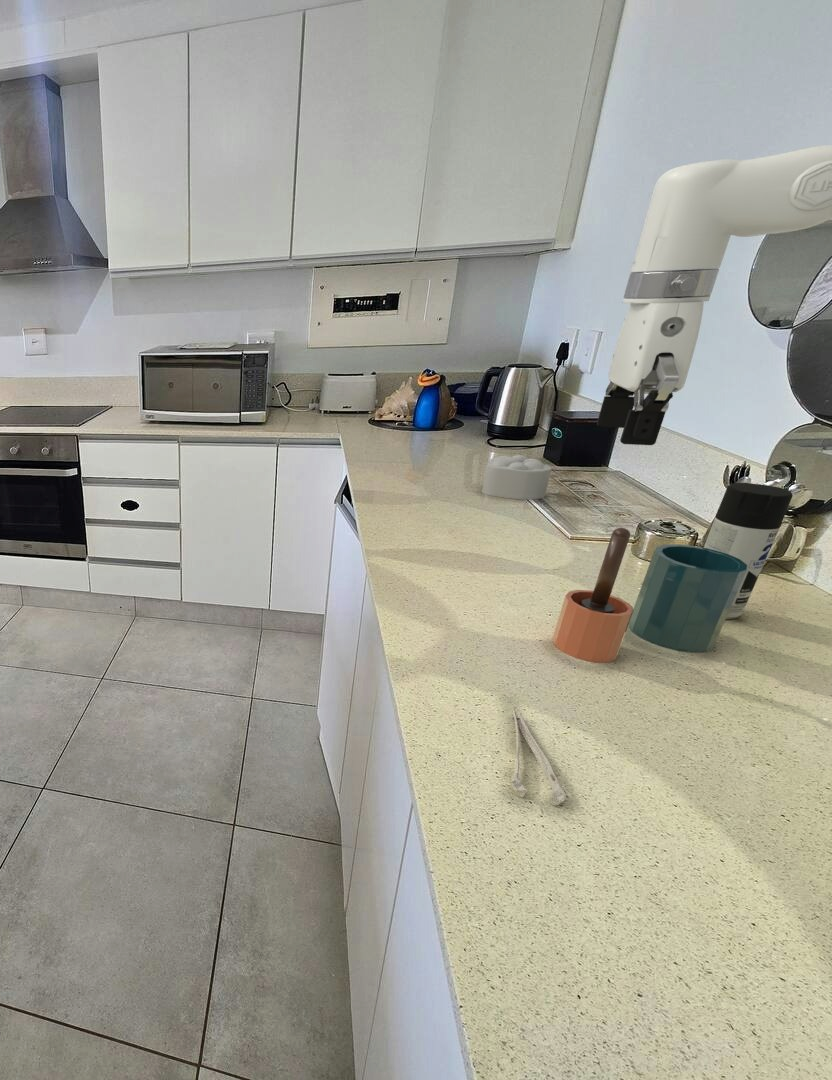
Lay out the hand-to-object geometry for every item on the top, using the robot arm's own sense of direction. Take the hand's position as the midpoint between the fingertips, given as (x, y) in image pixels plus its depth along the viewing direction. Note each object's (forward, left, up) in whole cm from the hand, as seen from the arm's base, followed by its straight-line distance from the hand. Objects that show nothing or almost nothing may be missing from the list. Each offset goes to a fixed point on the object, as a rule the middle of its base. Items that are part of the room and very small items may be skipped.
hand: (623, 435), depth 73 cm
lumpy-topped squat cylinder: (-5, -73, -31) cm, 79 cm away
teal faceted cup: (-14, -6, -31) cm, 34 cm away
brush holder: (-2, +2, -31) cm, 31 cm away
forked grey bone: (+9, +27, -31) cm, 42 cm away
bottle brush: (-2, +2, -30) cm, 30 cm away
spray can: (-23, -18, -31) cm, 42 cm away
